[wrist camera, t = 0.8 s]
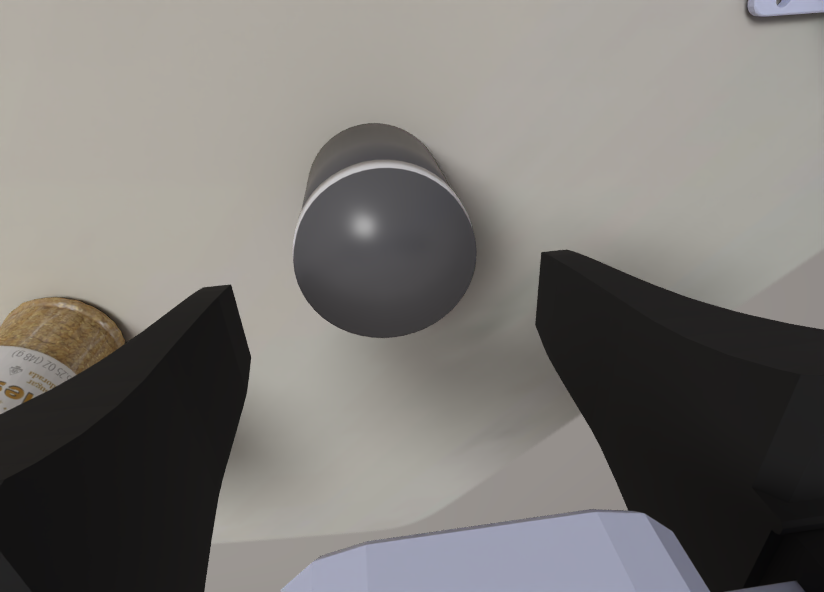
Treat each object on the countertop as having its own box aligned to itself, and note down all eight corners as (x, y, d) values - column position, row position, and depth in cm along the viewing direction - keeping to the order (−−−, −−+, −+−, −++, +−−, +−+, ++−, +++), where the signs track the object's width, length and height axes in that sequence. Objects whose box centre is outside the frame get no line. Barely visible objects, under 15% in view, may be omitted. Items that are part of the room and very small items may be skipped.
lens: (440, 116, 18) (479, 161, 13) (443, 246, 20) (477, 328, 15) (295, 127, 17) (274, 180, 12) (317, 259, 20) (308, 348, 15)
